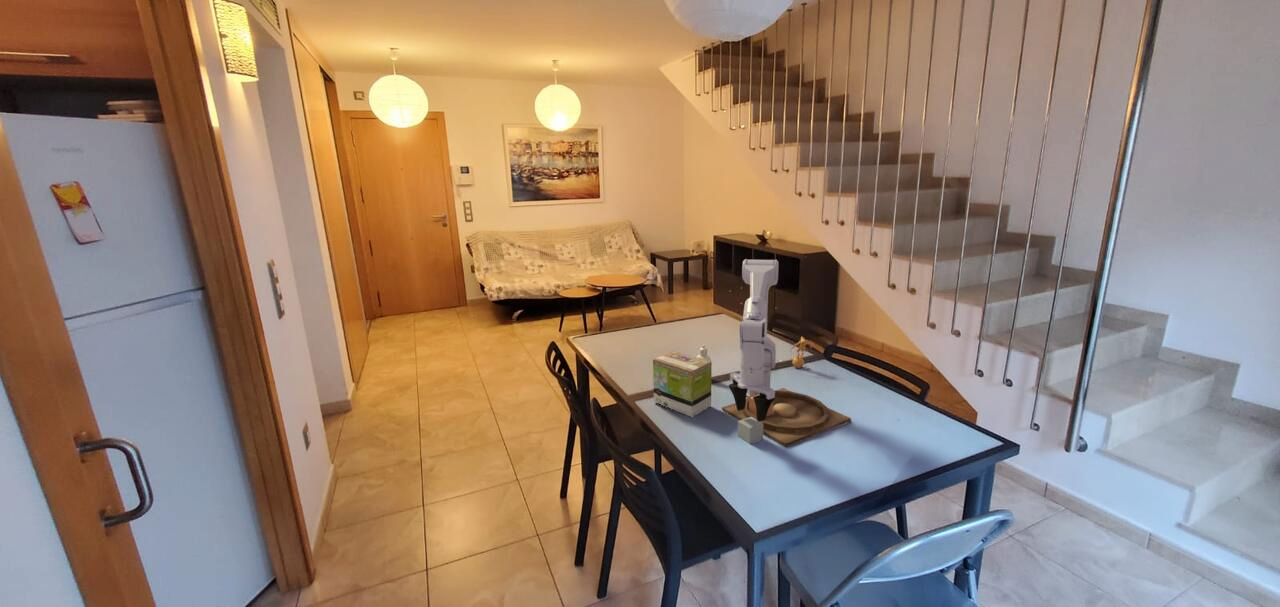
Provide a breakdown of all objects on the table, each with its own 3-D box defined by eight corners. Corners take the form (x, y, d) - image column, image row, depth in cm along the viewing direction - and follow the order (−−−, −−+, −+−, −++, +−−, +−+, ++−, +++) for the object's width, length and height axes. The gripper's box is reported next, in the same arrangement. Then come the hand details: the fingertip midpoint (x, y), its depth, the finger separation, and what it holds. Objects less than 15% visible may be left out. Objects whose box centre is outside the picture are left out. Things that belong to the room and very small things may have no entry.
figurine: (805, 364, 184) (807, 332, 181) (814, 370, 179) (816, 337, 176) (784, 366, 182) (785, 334, 179) (793, 373, 177) (794, 339, 174)
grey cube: (737, 436, 136) (737, 421, 134) (750, 432, 138) (751, 416, 137) (749, 444, 132) (749, 428, 131) (762, 439, 134) (763, 423, 133)
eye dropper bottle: (708, 374, 177) (708, 341, 174) (711, 381, 172) (711, 347, 169) (695, 375, 177) (695, 342, 174) (698, 382, 172) (698, 348, 169)
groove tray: (721, 410, 151) (721, 402, 150) (783, 390, 163) (783, 383, 162) (785, 447, 130) (785, 438, 129) (850, 421, 142) (851, 413, 141)
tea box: (652, 404, 156) (651, 358, 153) (673, 393, 163) (672, 349, 160) (692, 418, 146) (691, 370, 143) (712, 406, 153) (712, 360, 150)
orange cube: (749, 412, 147) (749, 397, 146) (761, 408, 149) (761, 393, 148) (760, 418, 143) (760, 403, 142) (772, 414, 145) (773, 399, 144)
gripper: (721, 360, 134) (720, 408, 137) (760, 378, 122) (758, 430, 125) (741, 355, 137) (741, 402, 141) (782, 371, 125) (779, 422, 128)
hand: (750, 414), depth 133 cm, fingers open, 7 cm apart
